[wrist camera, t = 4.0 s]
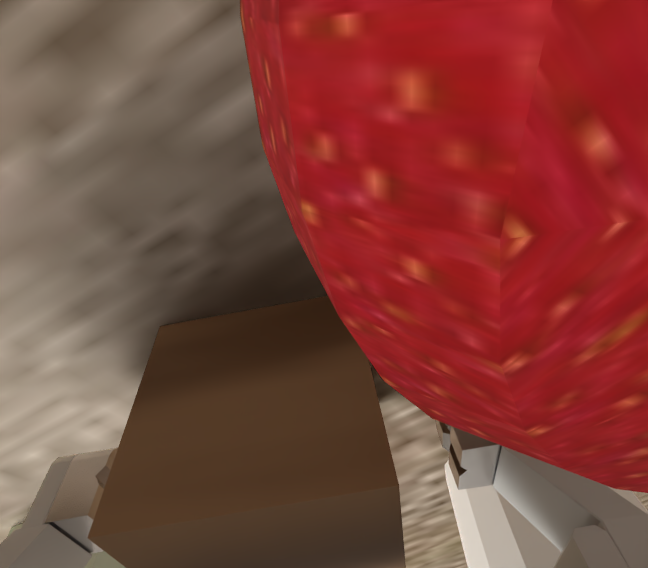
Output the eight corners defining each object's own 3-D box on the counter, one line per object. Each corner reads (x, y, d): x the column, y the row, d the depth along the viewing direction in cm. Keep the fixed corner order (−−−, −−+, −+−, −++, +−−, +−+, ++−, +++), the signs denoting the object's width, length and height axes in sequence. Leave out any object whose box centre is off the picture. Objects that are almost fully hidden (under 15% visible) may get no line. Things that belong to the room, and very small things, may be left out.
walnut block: (161, 323, 10) (87, 537, 6) (351, 289, 10) (399, 485, 6) (221, 431, 13) (197, 621, 9) (368, 405, 13) (407, 587, 9)
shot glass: (407, 444, 15) (487, 723, 9) (598, 381, 13) (824, 661, 8) (450, 512, 19) (524, 736, 13) (601, 468, 17) (752, 695, 12)
